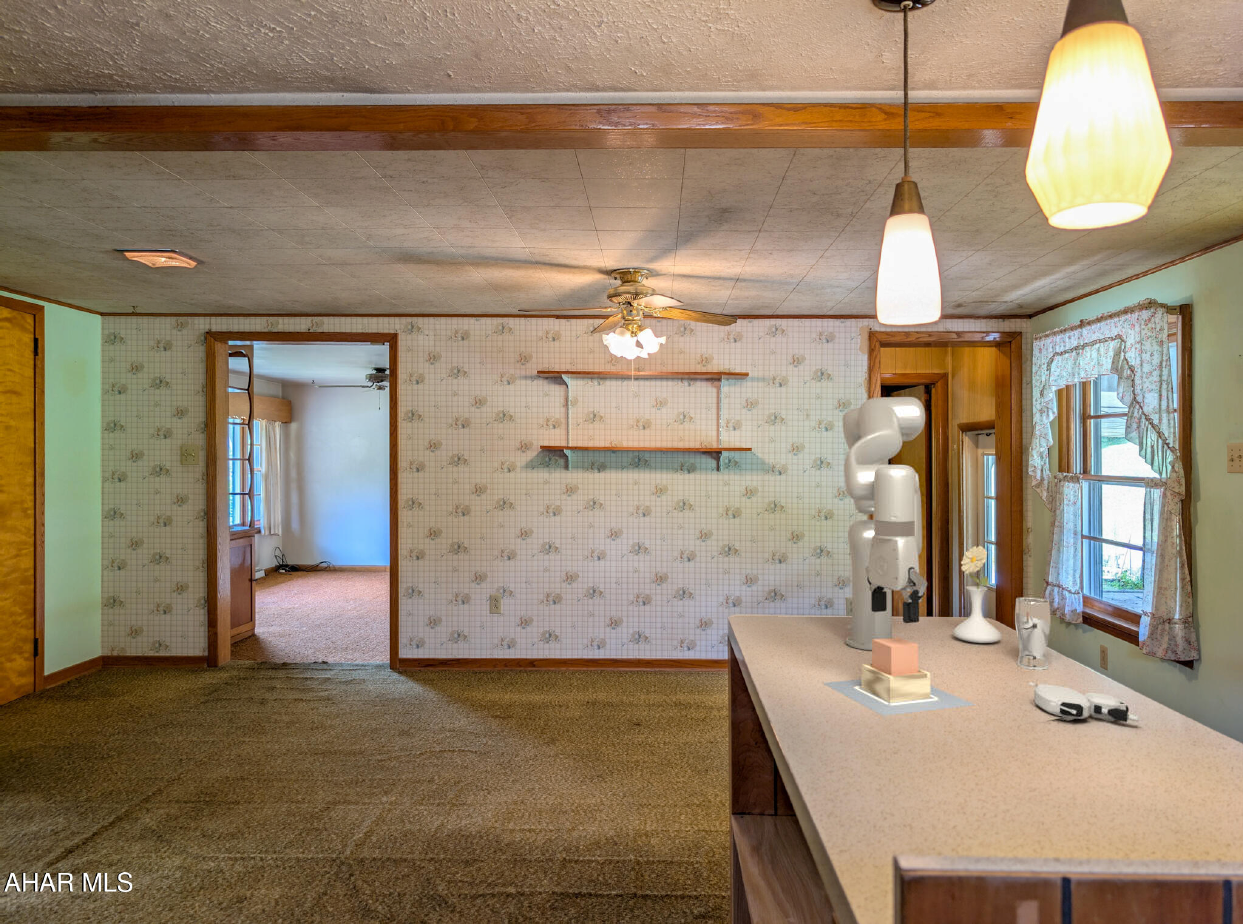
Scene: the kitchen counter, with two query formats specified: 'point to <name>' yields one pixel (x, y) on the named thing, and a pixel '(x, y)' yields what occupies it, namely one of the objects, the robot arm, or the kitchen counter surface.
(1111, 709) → the robot toy
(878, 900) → the kitchen counter surface
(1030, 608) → the beer glass
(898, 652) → the terracotta cube
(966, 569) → the flower in vase
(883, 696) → the maple base
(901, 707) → the board
